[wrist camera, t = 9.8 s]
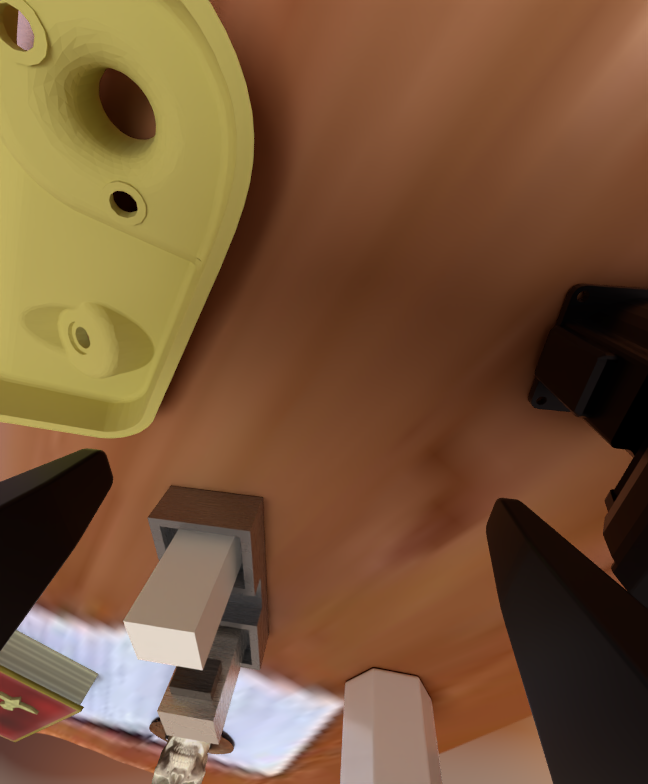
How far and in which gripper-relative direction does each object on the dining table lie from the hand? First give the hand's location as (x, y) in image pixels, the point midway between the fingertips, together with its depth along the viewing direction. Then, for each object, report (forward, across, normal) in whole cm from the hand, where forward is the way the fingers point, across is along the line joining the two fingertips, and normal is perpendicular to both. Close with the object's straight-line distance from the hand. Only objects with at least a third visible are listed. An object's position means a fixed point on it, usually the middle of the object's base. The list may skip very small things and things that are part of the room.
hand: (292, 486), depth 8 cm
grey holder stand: (+12, +8, +22) cm, 26 cm away
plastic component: (+12, +11, -4) cm, 17 cm away
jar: (+12, -8, +38) cm, 41 cm away
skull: (+12, +16, +60) cm, 63 cm away
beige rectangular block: (+10, +8, +16) cm, 21 cm away
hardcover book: (+13, +37, +50) cm, 63 cm away
